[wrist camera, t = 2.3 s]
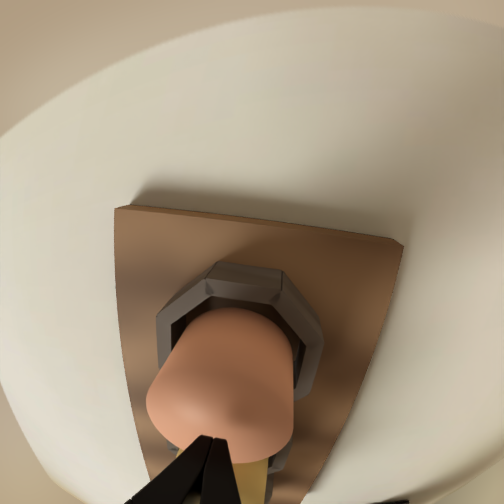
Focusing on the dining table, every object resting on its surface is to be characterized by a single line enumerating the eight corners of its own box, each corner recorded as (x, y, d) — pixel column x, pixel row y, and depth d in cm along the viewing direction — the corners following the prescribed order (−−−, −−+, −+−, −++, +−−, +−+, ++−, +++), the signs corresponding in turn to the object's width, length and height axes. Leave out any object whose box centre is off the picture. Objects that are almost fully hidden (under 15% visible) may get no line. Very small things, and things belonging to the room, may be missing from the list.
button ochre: (262, 474, 15) (256, 524, 11) (185, 460, 15) (168, 507, 11) (275, 429, 13) (271, 491, 10) (182, 413, 14) (158, 469, 10)
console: (298, 495, 21) (297, 525, 17) (155, 470, 22) (143, 498, 18) (393, 239, 14) (424, 260, 10) (128, 204, 15) (87, 215, 11)
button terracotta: (282, 405, 13) (279, 470, 9) (181, 387, 13) (153, 446, 9) (302, 316, 11) (309, 380, 8) (180, 298, 12) (138, 350, 8)
